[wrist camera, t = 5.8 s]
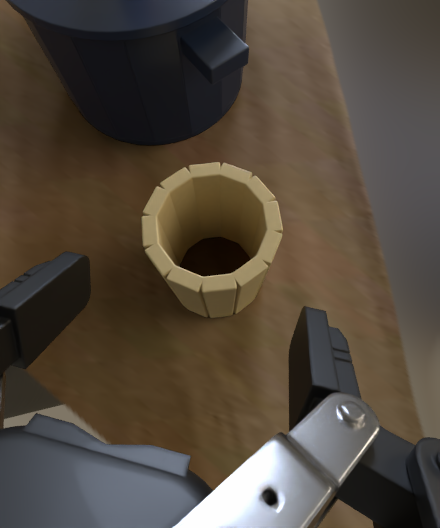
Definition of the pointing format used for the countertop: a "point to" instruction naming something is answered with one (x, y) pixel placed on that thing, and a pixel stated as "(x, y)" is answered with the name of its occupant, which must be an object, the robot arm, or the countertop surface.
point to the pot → (154, 77)
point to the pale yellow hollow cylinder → (212, 233)
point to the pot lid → (114, 16)
